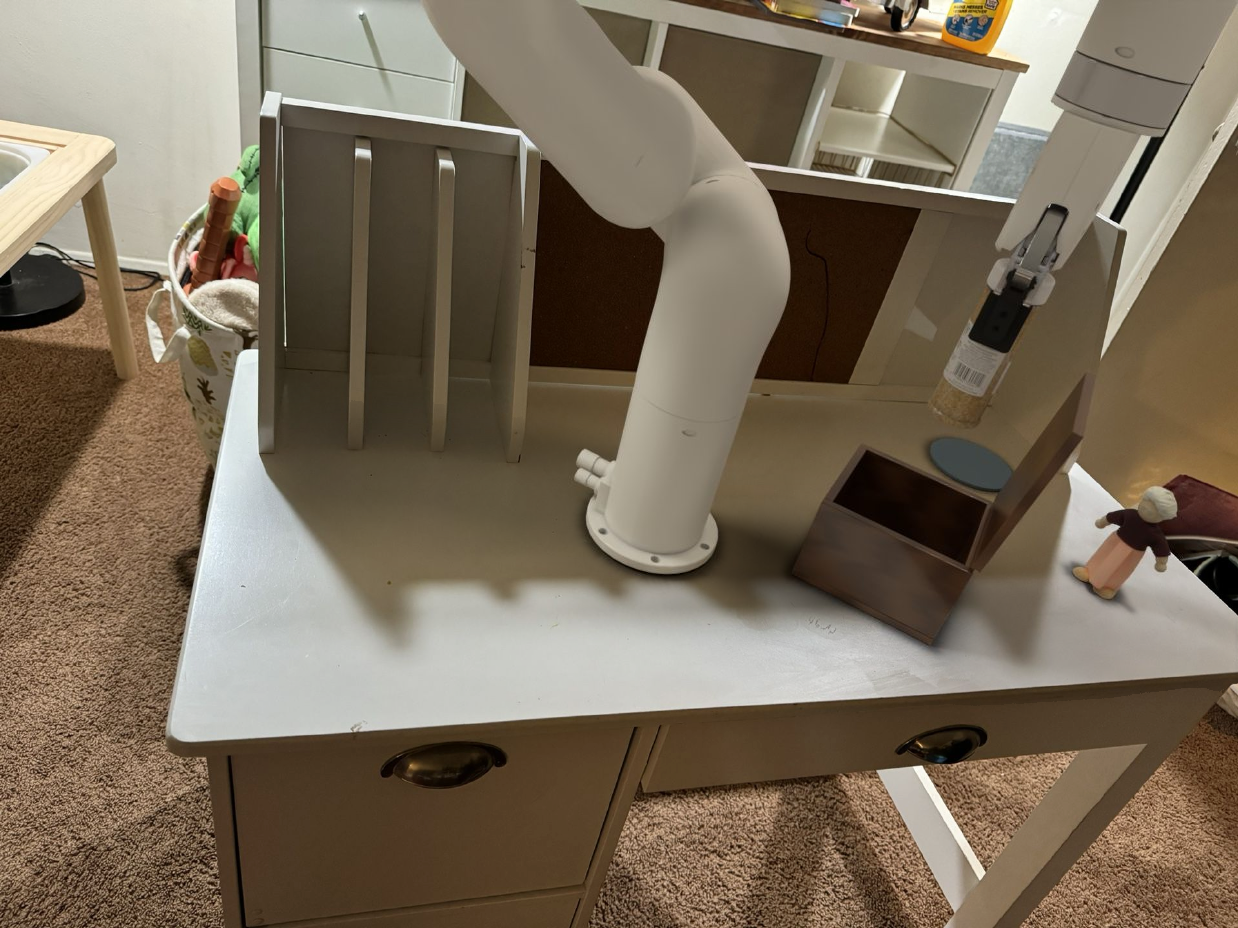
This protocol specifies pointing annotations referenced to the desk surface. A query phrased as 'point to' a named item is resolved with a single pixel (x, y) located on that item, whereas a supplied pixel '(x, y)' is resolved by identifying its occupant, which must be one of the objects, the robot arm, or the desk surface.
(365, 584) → the desk surface
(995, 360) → the sprinkles bottle
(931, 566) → the chest
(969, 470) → the mat
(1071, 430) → the chest lid
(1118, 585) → the grandmother figurine
